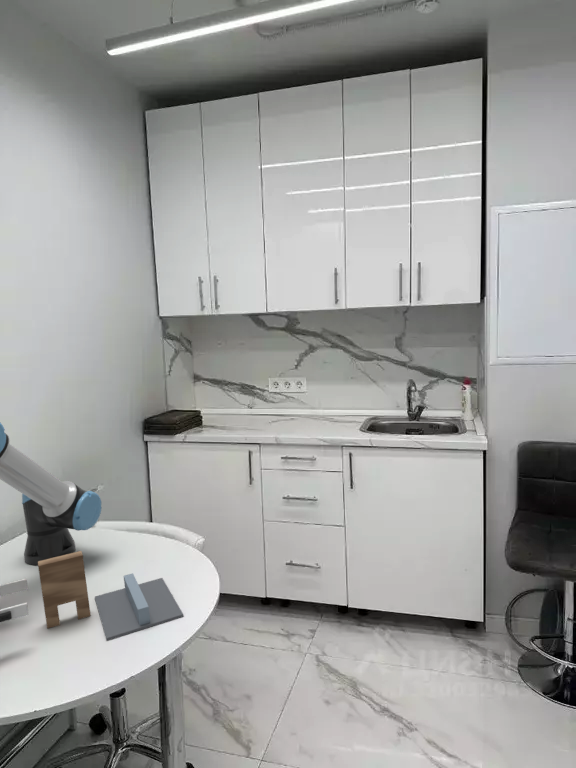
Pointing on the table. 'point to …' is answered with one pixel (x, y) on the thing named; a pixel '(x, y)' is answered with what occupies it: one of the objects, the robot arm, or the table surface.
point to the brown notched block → (63, 586)
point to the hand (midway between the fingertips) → (27, 595)
